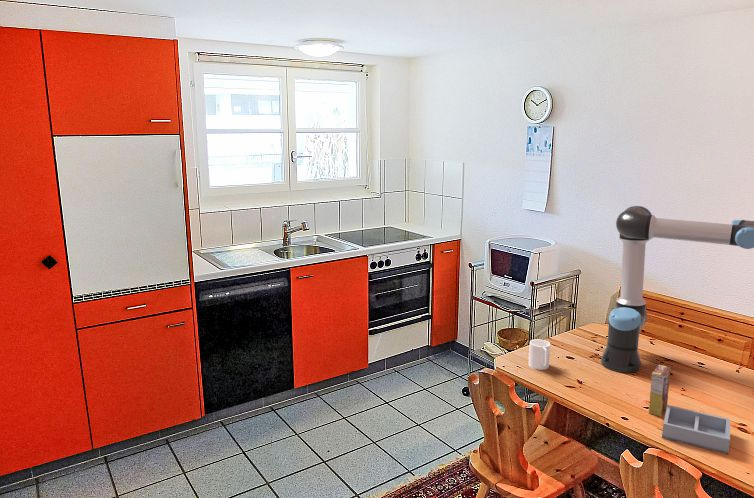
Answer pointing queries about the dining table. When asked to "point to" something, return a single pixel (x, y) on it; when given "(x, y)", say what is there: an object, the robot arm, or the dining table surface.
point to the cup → (539, 354)
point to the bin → (697, 429)
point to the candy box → (659, 390)
